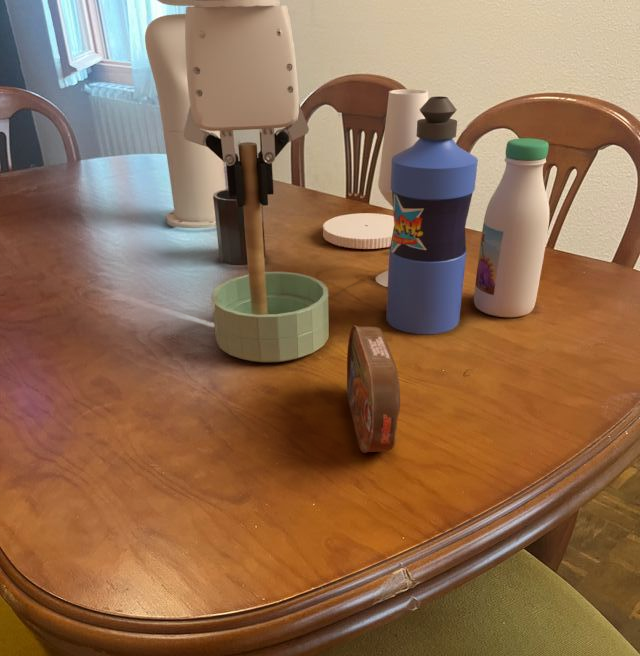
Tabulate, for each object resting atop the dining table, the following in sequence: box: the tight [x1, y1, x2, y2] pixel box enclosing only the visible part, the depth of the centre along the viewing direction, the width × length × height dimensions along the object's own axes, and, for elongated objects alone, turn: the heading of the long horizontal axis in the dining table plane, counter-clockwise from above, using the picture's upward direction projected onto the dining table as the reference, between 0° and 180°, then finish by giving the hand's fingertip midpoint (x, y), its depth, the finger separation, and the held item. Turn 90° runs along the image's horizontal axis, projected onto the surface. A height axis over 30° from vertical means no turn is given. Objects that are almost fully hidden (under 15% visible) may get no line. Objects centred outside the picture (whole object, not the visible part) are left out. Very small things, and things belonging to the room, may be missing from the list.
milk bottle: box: [473, 137, 551, 318], centre depth 79 cm, size 8×8×20 cm
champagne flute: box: [375, 88, 429, 288], centre depth 87 cm, size 7×7×24 cm
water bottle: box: [386, 95, 479, 335], centre depth 75 cm, size 9×9×25 cm
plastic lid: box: [322, 212, 394, 250], centre depth 107 cm, size 14×14×2 cm
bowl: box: [210, 271, 330, 364], centre depth 76 cm, size 13×13×6 cm
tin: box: [346, 325, 401, 454], centre depth 60 cm, size 15×3×8 cm, turn 5°
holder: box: [213, 188, 267, 266], centre depth 98 cm, size 7×7×10 cm
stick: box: [237, 141, 268, 315], centre depth 70 cm, size 2×2×20 cm
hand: (251, 201), depth 67 cm, fingers closed on stick, 1 cm apart
